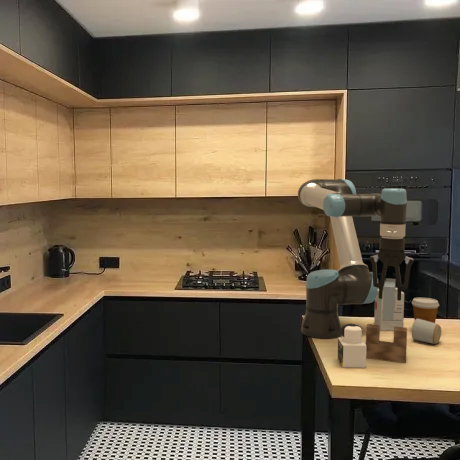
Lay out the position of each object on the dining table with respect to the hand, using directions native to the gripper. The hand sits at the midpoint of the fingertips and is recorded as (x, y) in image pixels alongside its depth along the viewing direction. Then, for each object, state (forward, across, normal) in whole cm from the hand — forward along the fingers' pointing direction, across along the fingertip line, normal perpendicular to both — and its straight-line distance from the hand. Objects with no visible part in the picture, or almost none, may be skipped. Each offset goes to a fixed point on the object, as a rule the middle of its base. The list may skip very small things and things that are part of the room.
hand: (389, 309), depth 145 cm
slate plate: (0, 0, -4) cm, 4 cm away
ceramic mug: (+16, +12, +19) cm, 27 cm away
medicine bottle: (+15, -10, -13) cm, 22 cm away
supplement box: (+16, -1, +31) cm, 35 cm away
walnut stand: (+15, 0, -4) cm, 15 cm away
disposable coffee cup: (+16, +12, +31) cm, 36 cm away
